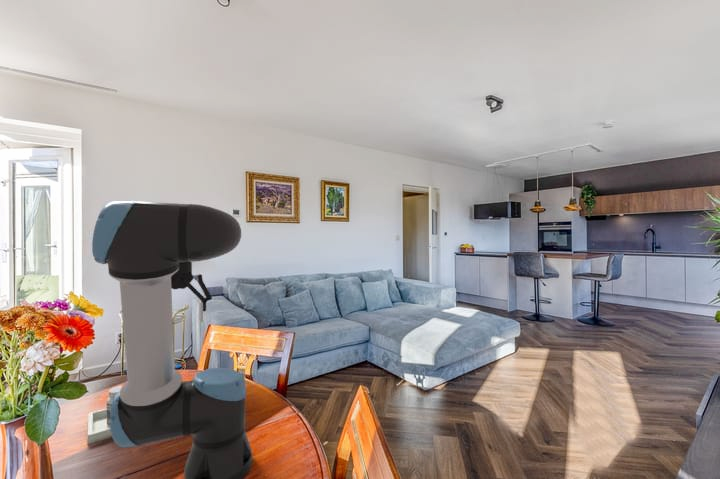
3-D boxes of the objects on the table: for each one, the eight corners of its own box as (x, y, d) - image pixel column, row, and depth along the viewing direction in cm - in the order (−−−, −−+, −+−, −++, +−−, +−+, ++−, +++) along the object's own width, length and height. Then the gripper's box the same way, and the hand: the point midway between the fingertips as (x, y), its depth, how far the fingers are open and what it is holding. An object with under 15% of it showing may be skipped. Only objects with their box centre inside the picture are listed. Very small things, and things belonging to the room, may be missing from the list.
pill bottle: (130, 414, 100) (131, 382, 100) (130, 423, 95) (130, 390, 95) (107, 420, 97) (107, 387, 97) (105, 429, 92) (105, 395, 92)
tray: (149, 425, 95) (149, 417, 95) (87, 444, 86) (87, 435, 86) (144, 406, 106) (144, 398, 106) (88, 420, 97) (88, 412, 97)
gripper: (215, 258, 118) (214, 316, 118) (132, 261, 102) (132, 327, 103) (221, 260, 112) (220, 320, 113) (134, 263, 97) (134, 333, 97)
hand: (178, 324), depth 108 cm, fingers open, 13 cm apart
